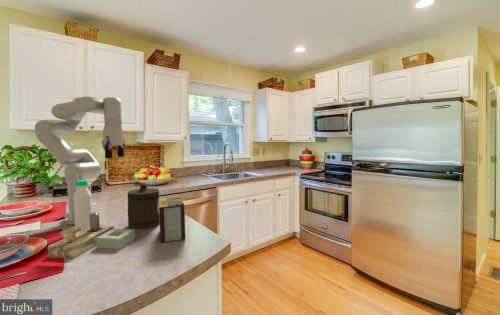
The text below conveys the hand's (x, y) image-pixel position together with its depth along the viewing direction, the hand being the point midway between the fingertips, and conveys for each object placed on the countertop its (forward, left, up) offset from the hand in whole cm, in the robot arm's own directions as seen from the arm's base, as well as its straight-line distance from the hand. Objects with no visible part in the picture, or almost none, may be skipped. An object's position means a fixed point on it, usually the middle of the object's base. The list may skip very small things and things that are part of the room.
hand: (115, 157), depth 124 cm
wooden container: (+14, 0, -35) cm, 38 cm away
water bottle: (-9, -12, -35) cm, 38 cm away
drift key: (+3, -32, -31) cm, 44 cm away
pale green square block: (+15, -23, -35) cm, 44 cm away
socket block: (+3, -26, -35) cm, 44 cm away
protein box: (+33, -10, -35) cm, 49 cm away
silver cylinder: (+3, -20, -34) cm, 39 cm away
